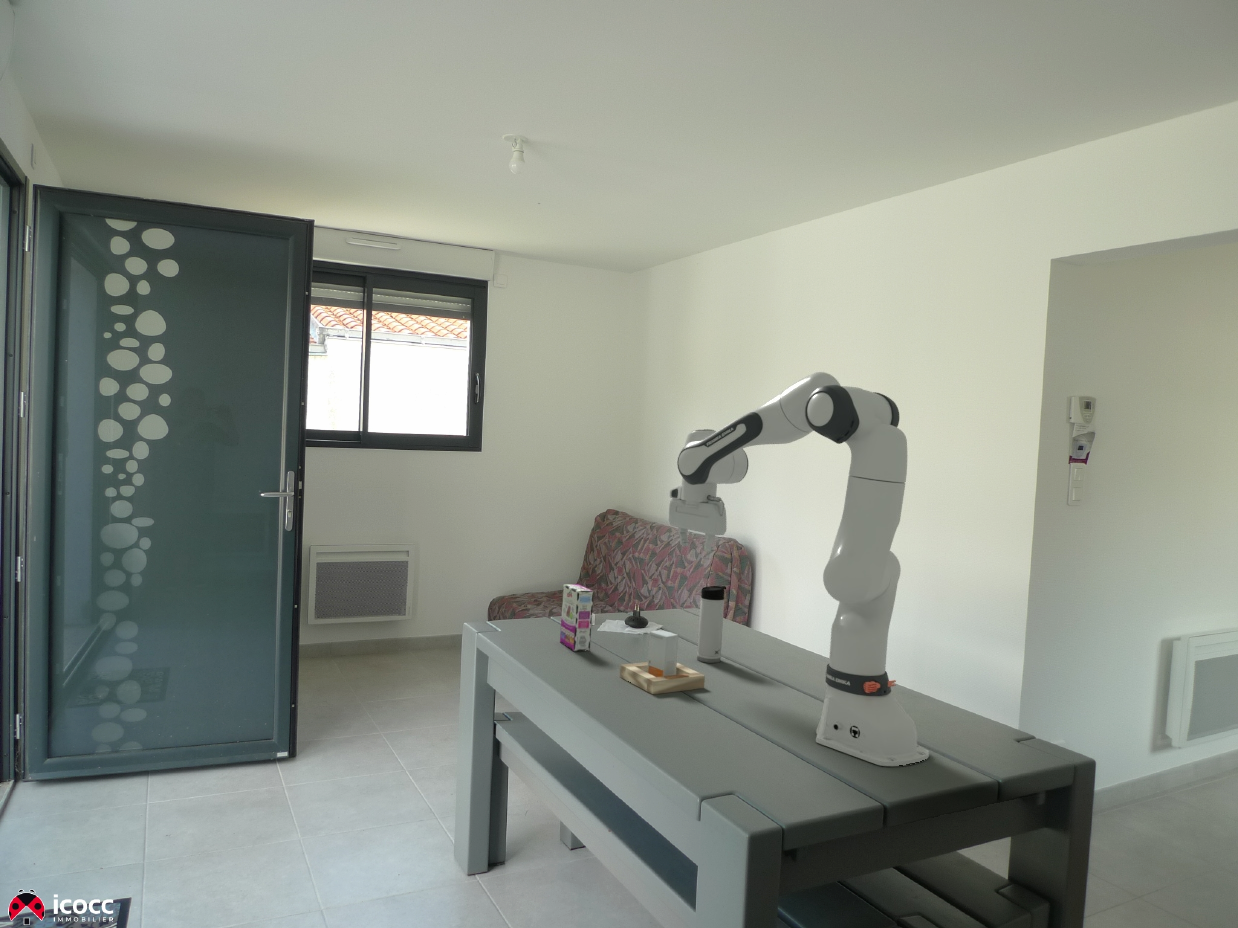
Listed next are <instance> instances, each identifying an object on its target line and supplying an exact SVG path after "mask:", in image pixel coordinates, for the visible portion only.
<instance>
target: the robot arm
mask: <svg viewBox="0 0 1238 928" xmlns="http://www.w3.org/2000/svg"><path fill="white" fill-rule="evenodd" d="M840 383H841V382H839V381H838V379H837V378H835V377H834V376H833V375H831V374H830V373H828V372H824V371H821V372H820V371H818V372H814V373H812V374H810V375H809V374H808V375H807V376H805V377H803V378H801V379H799V380H798V381H796V382H794V383H793V384H791V385H790V386H788V387H787V388H785V389H784V390H782V391H781V392H780V393H779V394H776V396H775V397H773V398H771V399H769V400H768V401H767V402H765V403H763V404H762V405H760V406H758V407H757V408H755V409H753V410H751V411H749V412H748V413H746V414H743V415H742V416H740V417H738V418H736V419H735V420H733V421H732V422H729V423H728V424H726V425H725V426H723V427H721V428H720V429H718V430H714V429H708V428H707V429H696V430H692V431H690V432H689V433H688V434H687V436H686V438H685V443H684V447H682V449H681V450H680V452H679V454H678V457H677V462H676V463H677V469H678V472H679V474H680V475H681V477H682V479H681V485H679V486H677V487H675V488H672V489H670V490H669V497H670V499H671V500H670V502H669V505H668V507H669V508H668V522H669V525H670V526H671V527H675V528H677V533H678V537H679V539H680V540H679V541H680V542H679V544H680V546H682V547H689V546H690V539H688V532H689V531H694V532H698V533H703V534H705V535H704V538H705V541H704V543H701V544H702V545H701V550H702V552H706V553H710V552H711V551H712V545H713V544H714V541H716V536H724V535H725V534H726V532H727V510H726V507H725V502H724V501H723V499H722V498H721V496H717V492H718V491H717V488H718V484H719V485H722V484H725V485H727V484H729V485H731V484H732V485H733V484H737V483H740V482H741V481H743V480H744V478H745V477H746V475H747V474H748V470H749V458H748V455H747V452H746V451H745V450H744V449H745V448H749V447H753V446H761V445H763V446H764V445H785V444H791V443H793V442H795V441H799V440H800V439H802V438H805V437H806V436H808V435H809V434H811V433H813V432H815V433H817V434H818V435H821V436H822V437H824V438H826V439H829V440H830V441H832V442H834V443H836V444H838V445H839V444H840V445H841V444H843V443H845V444H846V445H847V446H848V449H850V450H849V451H850V454H851V455H850V456H851V457H850V465H849V471H848V477H847V485H846V491H845V496H844V505H843V510H842V511H843V512H842V515H841V519H840V523H839V526H838V529H837V532H836V535H835V538H834V542H833V546H832V549H831V553H830V556H829V559H828V561H827V563H826V565H825V567H824V570H823V574H822V581H823V585H824V587H825V590H826V591H827V593H828V594H829V596H830V597H832V598H833V599H834V600H836V601H837V602H838V607H837V610H836V614H835V617H834V619H833V622H832V625H831V628H830V629H831V631H830V642H829V643H830V645H829V661H828V663H827V664H826V670H825V683H826V691H825V695H824V696H825V697H824V700H823V705H822V709H821V716H820V719H819V722H818V725H817V727H816V730H815V733H816V738H815V742H816V743H817V744H819V745H822V746H825V747H828V748H830V749H834V750H836V751H839V752H841V753H844V754H846V755H850V756H853V757H856V758H857V759H861V760H863V761H865V762H869V763H872V764H875V765H877V766H881V767H882V766H883V767H900V766H899V765H903V766H907V765H906V764H909V763H915V762H919V763H921V762H920V761H922V760H924V761H926V760H927V759H929V757H930V751H929V750H928V749H926V748H925V747H923V746H921V745H919V744H918V733H917V732H918V731H917V727H916V723H915V721H914V720H913V719H912V718H911V716H910V715H909V714H908V713H907V712H906V711H905V709H904V708H903V707H902V705H901V704H900V703H899V702H898V700H897V699H896V697H894V696H893V694H892V687H896V684H894V683H897V680H895V679H894V680H890V679H889V675H888V673H887V672H888V671H886V667H887V665H886V664H887V653H888V652H887V651H888V639H889V632H890V631H889V630H890V625H891V620H892V616H893V613H894V612H893V611H894V606H895V602H896V595H897V590H898V583H899V580H900V577H901V569H902V568H901V564H900V561H899V559H898V556H896V555H895V553H894V552H892V551H891V548H892V545H893V542H894V537H895V534H896V533H897V529H898V527H899V524H900V522H901V517H902V508H903V503H904V498H905V497H904V495H905V489H906V481H907V474H908V473H907V472H908V440H907V437H906V435H905V433H904V432H903V431H902V430H901V429H900V428H898V426H899V423H900V411H899V408H898V405H897V404H896V402H895V401H894V400H893V399H891V398H890V397H889V396H887V395H884V394H883V393H880V392H877V391H876V392H874V391H873V392H872V391H870V390H867V389H863V388H862V387H857V386H842V385H841V384H840ZM925 759H926V760H925ZM922 762H923V761H922ZM915 764H916V763H915Z"/></svg>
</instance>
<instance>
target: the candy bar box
mask: <svg viewBox="0 0 1238 928" xmlns="http://www.w3.org/2000/svg"><path fill="white" fill-rule="evenodd" d="M562 587H563V588H562V604H561V621H560V633H559V636H560V637H559V643H561V644H562V643H563V644H562V645H563V646H565V645H566V646H565V647H567V648H568V647H569V648H568V649H570V650H571V649H572V650H571V651H573V652H586V651H585V650H588V651H587V652H589V650H590V651H591V636H592V624H593V623H592V620H593V619H592V618H593V610H594V609H593V606H594V594H595V593H594V592H595V591H594V590H592V589H590V588H588V587H586V586H583V585H581V584H578V583H574V584H573V583H571V584H570V583H568V584H563V585H562Z"/></svg>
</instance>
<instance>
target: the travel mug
mask: <svg viewBox="0 0 1238 928" xmlns="http://www.w3.org/2000/svg"><path fill="white" fill-rule="evenodd" d="M725 590H727V586H726V585H710V586H704V587H702V588H701V595H700V604H699V605H700V607H699V621H698V622H699V623H698V637H697V638H698V640H697V654H696V655H697V657H696V659H697V661H700V662H701V663H707V664H716V663H719V662H721V658H722V655H721V654H722V640H723V628H724V627H723V626H724V625H723V624H724V611H725V610H724V609H725Z"/></svg>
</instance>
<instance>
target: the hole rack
mask: <svg viewBox="0 0 1238 928" xmlns="http://www.w3.org/2000/svg"><path fill="white" fill-rule="evenodd" d="M647 668H648V661H645V662H634V663H626V664H624V663H623V664H620V670H619V678H621V679H623V680H625V681H627V682H628V681H629V682H628V683H630V682H631V683H630V684H632V685H634V686H637V687H638V688H640V689H641V690H643V691H646V692H647V693H650V694H651V695H658V694H666V693H673V692H674V693H675V692H683V691H690V690H699V689H705V681H706V680H705V679H706V675H705V674H703V673H702V672H698V671H696V670H694V669H692V668H689V667H687V666H685V665H683V664H681V663H679V662H677V667H676V675H670V676H664V677H655V676H653V675H651V674H649V673H647Z"/></svg>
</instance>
